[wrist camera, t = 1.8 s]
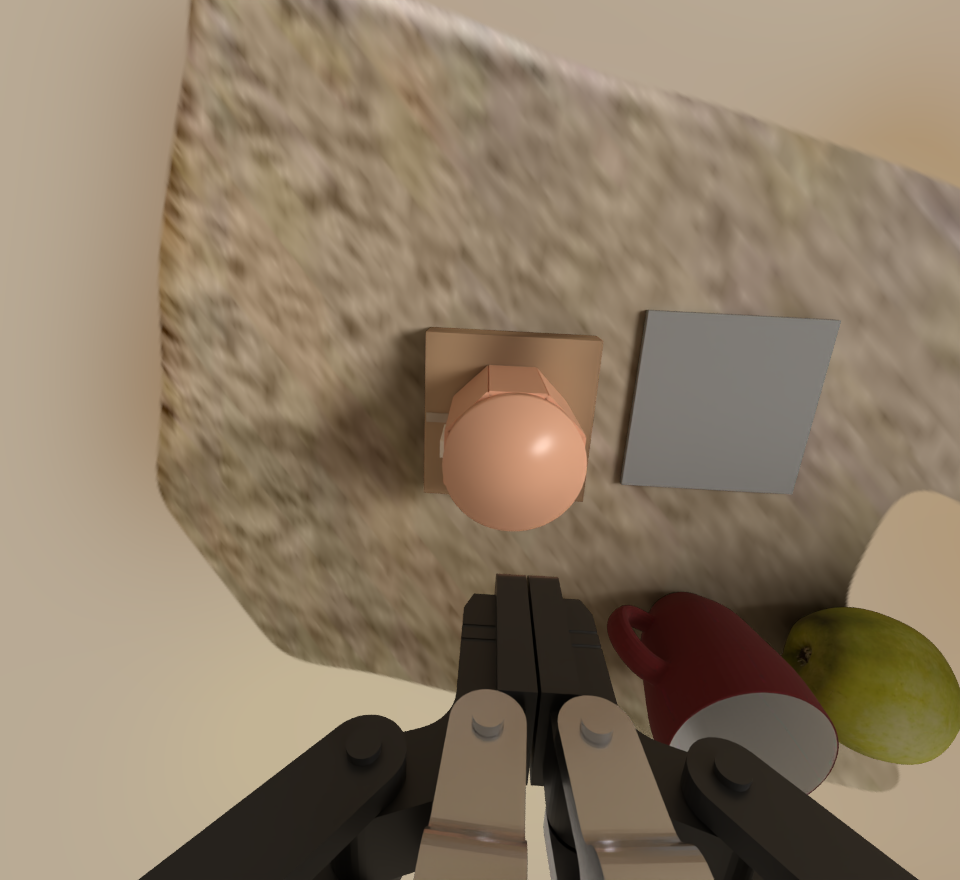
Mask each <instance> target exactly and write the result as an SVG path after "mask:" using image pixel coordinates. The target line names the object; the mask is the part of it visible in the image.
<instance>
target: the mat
mask: <svg viewBox="0 0 960 880" xmlns="http://www.w3.org/2000/svg"><path fill="white" fill-rule="evenodd" d="M840 323H841V321H840V320H829V319H810V318H791V317H772V316H753V315H734V314H715V313H696V312H677V311H658V310H647V311H646V318H645V324H644V331H643V337H642V344H641V350H640V356H639V363H638V369H637V376H636V382H635V389H634V395H633V402H632V408H631V415H630V421H629V428H628V434H627V440H626V447H625V453H624V460H623V466H622V473H621V479H620V482H621V484H622V485H639V486H656V487H674V488H691V489H708V490H725V491H743V492H760V493H777V494H792V493H793V490H794V486H795V483H796V479H797V475H798V472H799V468H800V465H801V461H802V458H803V454H804V451H805V447H806V444H807V440H808V436H809V433H810V429H811V426H812V422H813V419H814V415H815V412H816V408H817V405H818V401H819V397H820V394H821V390H822V387H823V383H824V380H825V376H826V373H827V369H828V366H829V362H830V358H831V355H832V351H833V348H834V344H835V341H836V337H837V334H838V330H839V327H840Z"/></svg>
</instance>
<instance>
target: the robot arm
mask: <svg viewBox="0 0 960 880" xmlns="http://www.w3.org/2000/svg"><path fill="white" fill-rule="evenodd" d="M529 768H530V782H531V785H537V786H544V790H545V801H546V810H545V817H544V826H543V828H544V837H545V843H546V850H547V856H548V863H549V869H550V876H551V880H918V879H917V878H916V877H914V876H913V875H912V874H910V873H909V872H908V871H906V870H905V869H904V868H902V867H901V866H900V865H899V864H897V863H896V862H895V861H893V860H892V859H891V858H889V857H888V856H887V855H885V854H884V853H883V852H882V851H880V850H879V849H878V848H876V847H875V846H874V845H872V844H871V843H870V842H868V841H867V840H866V839H864V838H863V837H862V836H861V835H859V834H858V833H856V832H855V831H854V830H853V829H851V828H850V827H849V826H847V825H846V824H845V823H843V822H842V821H841V820H840V819H838V818H837V817H836V816H834V815H833V814H832V813H830V812H829V811H828V810H827V809H825V808H824V807H823V806H821V805H820V804H819V803H817V802H816V801H815V800H813V799H812V798H811V797H809V796H808V795H807V794H806V793H804V792H803V791H802V790H800V789H799V788H798V787H796V786H795V785H794V784H792V783H791V782H790V781H789V780H787V779H786V778H785V777H783V776H782V775H781V774H779V773H778V772H777V771H775V770H774V769H773V768H772V767H770V766H769V765H768V764H766V763H765V762H764V761H762V760H761V759H760V758H758V757H757V756H756V755H755V754H753V753H752V752H750V751H749V750H747V749H746V748H744V747H743V746H741V745H739V744H737V743H735V742H732V741H730V740H726V739H723V738H717V737H707V738H702V739H699V740H697V741H696V742H694V743H693V744H692V745H691V746H690V748H689V750H688V752H686V751H683V750H681V749H678V748H675V747H672V746H669V745H666V744H663V743H661V742H658V741H656V740H653V739H651V738H649V737H647V736H645V735H644V734H642V733H641V732H639V731H638V730H637V729H635V726H634V724H633V722H632V721H631V719H630V718H629V716H628V715H627V714H626V713H625V712H624V711H623V710H622V709H621V708H620V707H619V706H618V705H617V702H616V698H615V695H614V691H613V688H612V684H611V680H610V677H609V673H608V669H607V666H606V662H605V659H604V655H603V651H602V649H601V644H600V641H599V637H598V635H597V630H596V626H595V623H594V619H593V615H592V614H591V613H590V611H589V610H588V609H587V608H586V607H585V606H584V604H583V603H582V602H581V601H580V600H575V599H563V598H562V593H561V588H560V583H559V579H558V577H547V576H530V575H528V576H527V579H526V575H511V574H496V582H495V595H488V594H473V596H472V597H471V598H470V600H469V601H468V603H467V604H466V605H465V607H464V613H463V625H462V636H461V647H460V659H459V670H458V681H457V692H456V698H455V701H454V703H453V705H452V707H451V708H450V710H449V711H448V712H447V713H446V714H445V715H444V716H443V717H442V718H441V719H439V720H438V721H436V722H434V723H432V724H430V725H428V726H425V727H422V728H418V729H414V730H409V731H405V732H403V731H402V730H401V728H400V727H399V726H398V725H397V724H396V723H395V722H393V721H392V720H390V719H388V718H386V717H383V716H379V715H363V716H358V717H355V718H352V719H350V720H348V721H346V722H344V723H342V724H341V725H339V726H338V727H337V728H335V729H334V730H333V731H332V732H330V733H329V734H328V735H326V736H325V737H324V738H322V740H320V741H319V742H317V743H316V744H315V745H313V746H312V747H311V748H309V749H308V750H307V751H306V752H304V753H303V754H302V755H300V756H299V757H298V758H296V759H295V760H294V761H292V762H291V763H290V764H289V765H287V766H286V767H285V768H283V769H282V770H281V771H279V772H278V773H277V774H276V775H274V776H273V777H272V778H270V779H269V780H268V781H266V782H265V783H264V784H263V785H262V786H260V787H259V788H257V789H256V790H255V791H253V792H252V793H251V794H250V795H248V796H247V797H246V798H244V799H243V800H242V801H241V802H239V803H238V804H236V805H235V806H234V807H233V808H231V809H230V810H229V811H227V812H226V813H225V814H223V815H222V816H221V817H219V818H218V819H217V820H216V821H214V822H213V823H212V824H210V825H209V826H208V827H206V828H205V829H204V830H203V831H201V832H200V833H199V834H197V835H196V836H195V837H193V838H192V839H191V840H190V841H188V842H187V843H186V844H184V845H183V846H182V847H180V848H179V849H178V850H176V851H175V852H174V853H173V854H171V855H170V856H169V857H167V858H166V859H165V860H163V861H162V862H161V863H160V864H158V865H157V866H156V867H154V868H153V869H152V870H150V871H149V872H148V873H146V874H145V875H144V876H143V877H141V878H140V879H139V880H400V879H401V877H402V876H403V875H406V874H410V873H413V872H415V874H414V879H413V880H527V865H528V863H527V862H528V860H527V841H526V840H525V799H526V798H525V797H526V785H527V783H528V774H529Z"/></svg>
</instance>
